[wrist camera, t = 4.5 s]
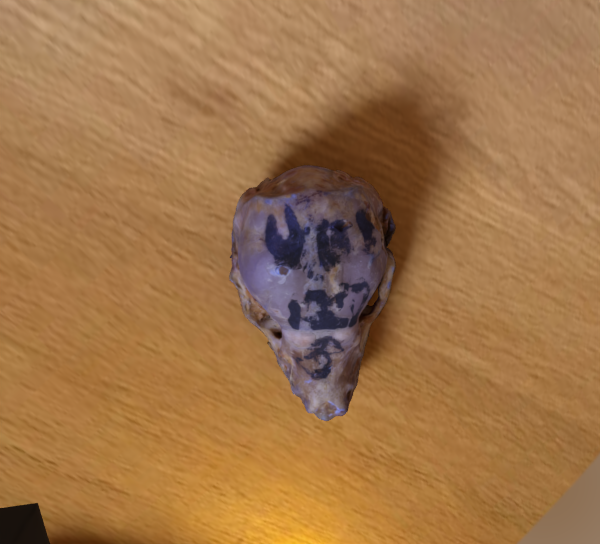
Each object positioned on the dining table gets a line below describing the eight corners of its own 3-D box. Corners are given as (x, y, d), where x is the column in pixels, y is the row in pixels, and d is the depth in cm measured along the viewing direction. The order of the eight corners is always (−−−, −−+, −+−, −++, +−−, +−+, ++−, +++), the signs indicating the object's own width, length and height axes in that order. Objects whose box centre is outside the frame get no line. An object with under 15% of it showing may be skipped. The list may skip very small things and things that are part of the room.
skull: (379, 402, 28) (390, 469, 22) (234, 390, 29) (206, 453, 23) (401, 167, 26) (419, 173, 20) (240, 159, 26) (210, 161, 20)
